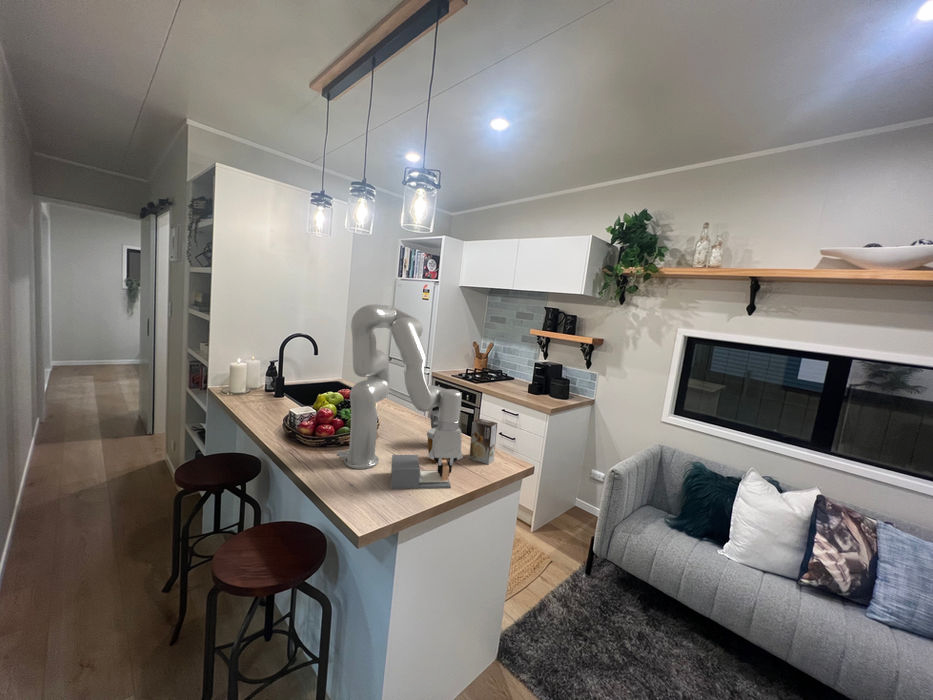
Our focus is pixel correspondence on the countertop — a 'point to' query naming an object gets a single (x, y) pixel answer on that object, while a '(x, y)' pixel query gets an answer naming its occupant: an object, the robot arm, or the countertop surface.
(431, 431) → the disposable coffee cup
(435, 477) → the sliding tray
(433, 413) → the coffeepot
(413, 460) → the dispenser
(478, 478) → the countertop surface
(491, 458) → the coffee box
